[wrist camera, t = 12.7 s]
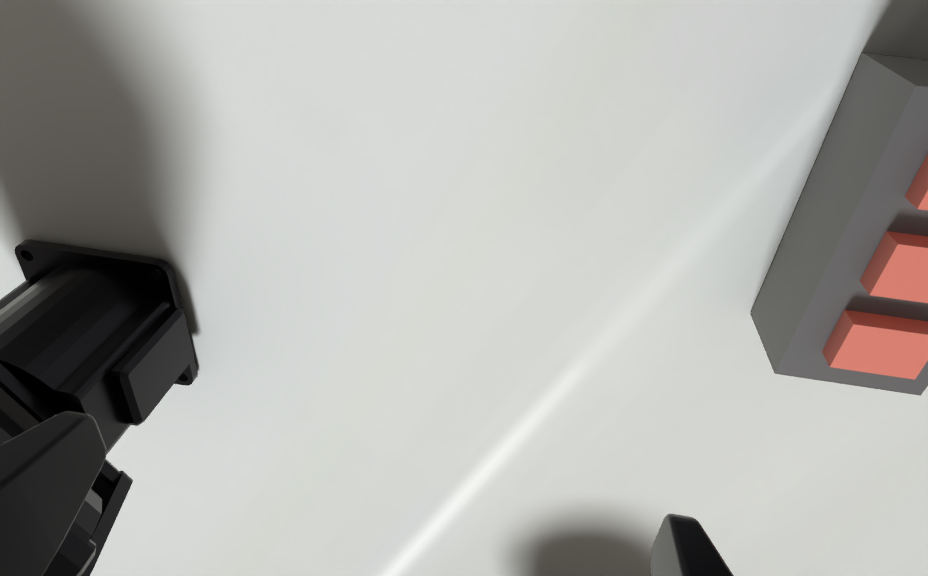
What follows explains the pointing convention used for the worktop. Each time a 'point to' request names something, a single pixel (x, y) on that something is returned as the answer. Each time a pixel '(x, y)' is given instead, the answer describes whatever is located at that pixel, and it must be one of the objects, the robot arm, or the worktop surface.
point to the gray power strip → (859, 243)
